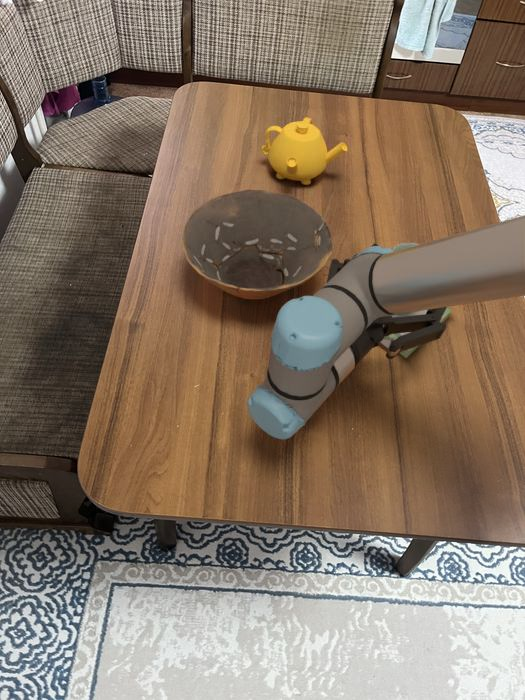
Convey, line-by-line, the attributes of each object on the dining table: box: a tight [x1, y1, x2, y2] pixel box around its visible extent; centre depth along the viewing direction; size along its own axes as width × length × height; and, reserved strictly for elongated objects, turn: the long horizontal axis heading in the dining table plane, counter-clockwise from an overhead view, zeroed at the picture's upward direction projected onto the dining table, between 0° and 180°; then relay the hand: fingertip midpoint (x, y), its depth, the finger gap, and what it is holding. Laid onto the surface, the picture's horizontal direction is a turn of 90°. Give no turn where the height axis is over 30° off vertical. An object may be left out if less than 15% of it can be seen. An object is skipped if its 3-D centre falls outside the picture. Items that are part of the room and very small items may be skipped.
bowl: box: [181, 189, 333, 300], centre depth 93 cm, size 25×25×10 cm
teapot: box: [261, 116, 348, 186], centre depth 112 cm, size 14×14×11 cm
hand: (410, 270), depth 85 cm, fingers open, 13 cm apart
